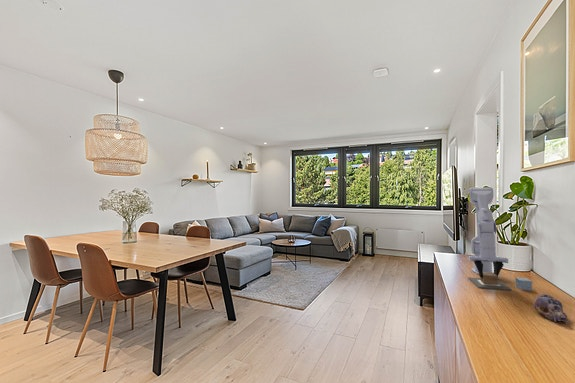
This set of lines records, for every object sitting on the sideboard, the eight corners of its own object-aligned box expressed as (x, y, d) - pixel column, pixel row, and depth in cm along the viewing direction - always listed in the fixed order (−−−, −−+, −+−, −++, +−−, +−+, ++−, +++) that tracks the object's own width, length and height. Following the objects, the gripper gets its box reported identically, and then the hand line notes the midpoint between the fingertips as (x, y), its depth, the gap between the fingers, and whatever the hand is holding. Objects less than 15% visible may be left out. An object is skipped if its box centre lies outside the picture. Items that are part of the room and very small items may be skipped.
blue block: (515, 286, 117) (515, 277, 117) (527, 287, 116) (526, 278, 116) (520, 289, 113) (519, 280, 113) (532, 290, 112) (531, 281, 112)
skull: (576, 328, 81) (575, 307, 81) (542, 322, 85) (541, 303, 85) (561, 312, 91) (560, 294, 91) (531, 308, 95) (530, 291, 95)
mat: (468, 278, 129) (468, 277, 129) (498, 280, 125) (498, 279, 125) (478, 288, 116) (478, 286, 116) (512, 290, 112) (511, 289, 112)
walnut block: (480, 280, 123) (480, 272, 124) (493, 281, 122) (493, 272, 122) (484, 284, 119) (483, 275, 119) (498, 284, 117) (497, 275, 117)
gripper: (471, 248, 119) (472, 279, 119) (511, 250, 115) (512, 281, 114) (466, 245, 126) (467, 274, 126) (504, 247, 121) (505, 277, 121)
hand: (488, 277), depth 120 cm, fingers closed on walnut block, 5 cm apart
